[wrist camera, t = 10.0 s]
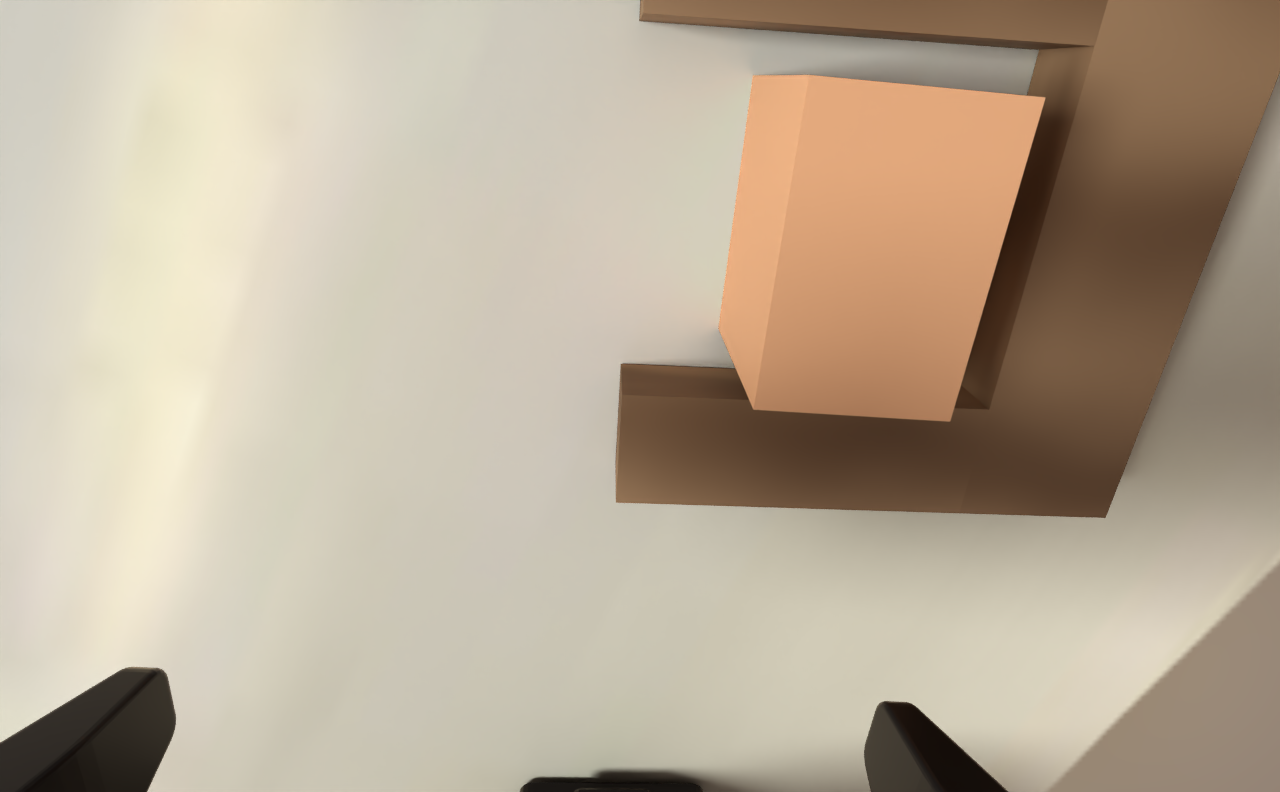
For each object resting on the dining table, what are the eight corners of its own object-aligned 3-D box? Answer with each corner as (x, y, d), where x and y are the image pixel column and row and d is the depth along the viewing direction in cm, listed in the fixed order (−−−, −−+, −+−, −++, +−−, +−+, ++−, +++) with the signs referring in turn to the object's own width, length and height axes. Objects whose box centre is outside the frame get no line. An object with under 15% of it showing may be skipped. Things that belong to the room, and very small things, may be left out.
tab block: (867, 337, 19) (950, 421, 14) (717, 327, 18) (753, 409, 14) (923, 91, 16) (1045, 97, 12) (752, 75, 16) (809, 74, 11)
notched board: (1061, 478, 21) (1105, 517, 19) (615, 463, 20) (616, 502, 18) (1263, -96, 15) (1354, -120, 13) (648, -149, 14) (654, -183, 12)
